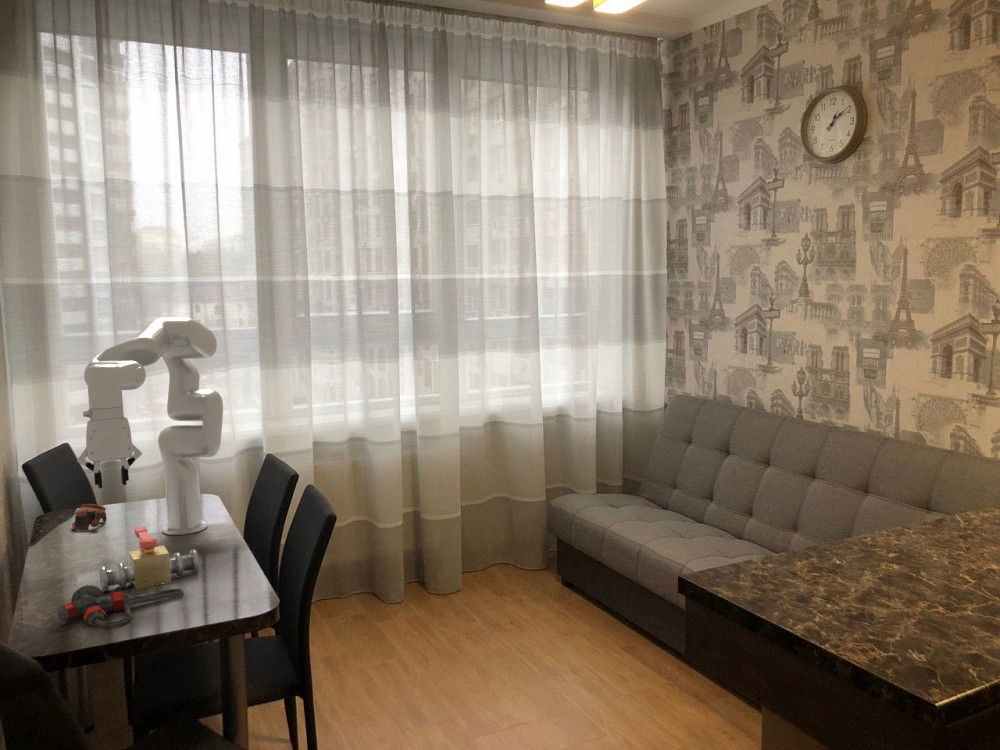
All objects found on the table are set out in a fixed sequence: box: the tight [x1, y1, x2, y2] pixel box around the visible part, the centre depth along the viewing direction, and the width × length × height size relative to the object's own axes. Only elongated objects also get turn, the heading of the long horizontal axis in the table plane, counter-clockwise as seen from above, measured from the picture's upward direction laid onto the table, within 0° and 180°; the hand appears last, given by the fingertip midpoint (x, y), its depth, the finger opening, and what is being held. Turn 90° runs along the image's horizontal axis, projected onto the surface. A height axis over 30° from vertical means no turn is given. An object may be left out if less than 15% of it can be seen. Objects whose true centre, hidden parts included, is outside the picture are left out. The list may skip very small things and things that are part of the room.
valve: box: [56, 584, 185, 628], centre depth 178 cm, size 6×26×15 cm
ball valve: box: [98, 545, 201, 593], centre depth 196 cm, size 7×22×9 cm, turn 123°
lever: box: [134, 525, 158, 550], centre depth 200 cm, size 16×4×2 cm, turn 33°
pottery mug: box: [71, 503, 108, 531], centre depth 243 cm, size 12×10×8 cm
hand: (112, 484), depth 199 cm, fingers open, 4 cm apart
